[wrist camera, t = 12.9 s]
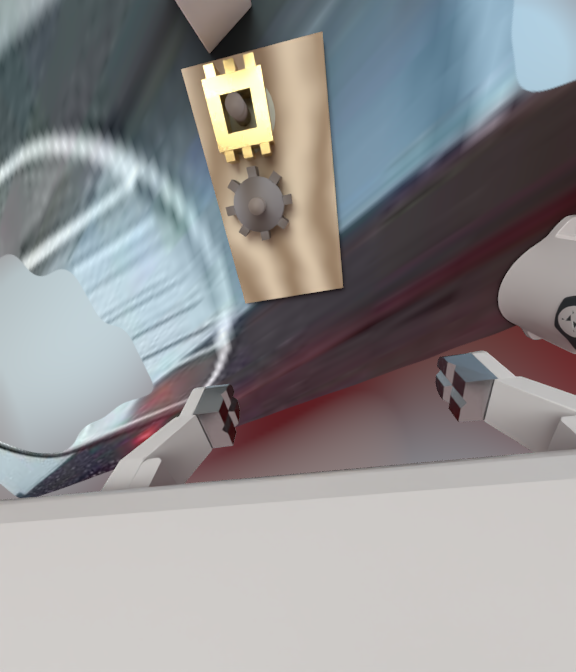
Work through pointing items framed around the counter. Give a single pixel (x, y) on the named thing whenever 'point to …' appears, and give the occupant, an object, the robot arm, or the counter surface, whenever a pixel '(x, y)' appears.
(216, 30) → the milk
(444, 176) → the counter surface
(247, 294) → the gear board
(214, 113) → the toothed rectangular frame
